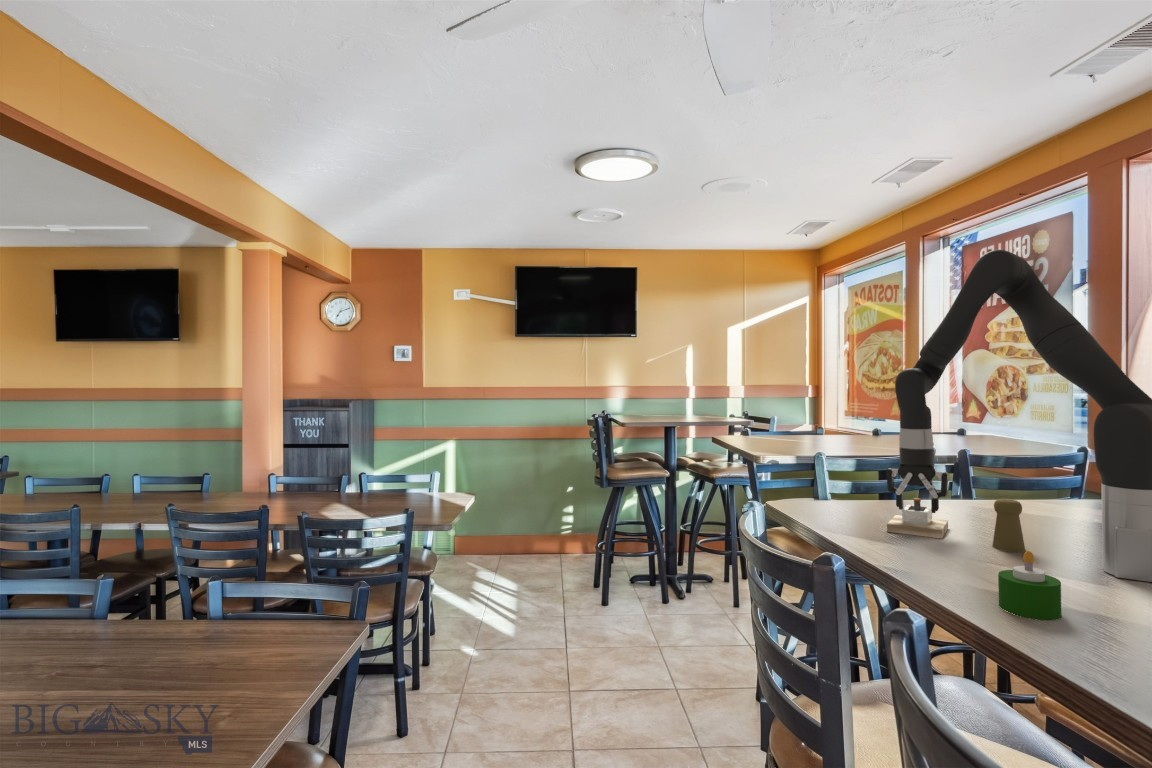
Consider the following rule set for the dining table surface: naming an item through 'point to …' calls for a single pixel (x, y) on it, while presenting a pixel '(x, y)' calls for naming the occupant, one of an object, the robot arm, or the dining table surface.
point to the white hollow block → (917, 515)
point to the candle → (1029, 591)
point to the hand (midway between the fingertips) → (917, 510)
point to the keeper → (933, 530)
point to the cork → (1008, 526)
